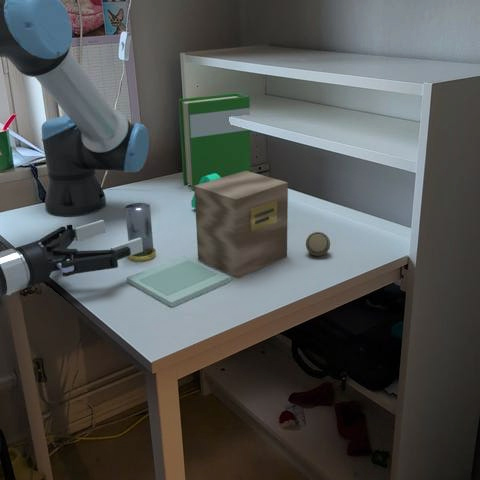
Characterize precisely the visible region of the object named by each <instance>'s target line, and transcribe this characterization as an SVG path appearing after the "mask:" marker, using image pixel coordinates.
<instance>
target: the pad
mask: <svg viewBox="0 0 480 480" xmlns="http://www.w3.org/2000/svg"><path fill="white" fill-rule="evenodd" d="M230 282H231V276H230V275H227V274H225V273H223V272H222V271H221V272H220V271H218V269H217V270H216V269H215V268H212V267H210V266H209V265H207V264H205V263H201V262H199V261H197V260H195V259H193V258H190V257H188V256H186V255H181V256H179V257H177V258H174V259H172V260H169V261H165V262H164V263H161V264H158V265H156V266H153V267H151V268H148V269H146V270H142V271H140V272H137V273H135V274H132V275H129V276H127V277H126V283H127V284H130V285H132V286H133V287H135V288H137V289H138V290H140V291H142V292H144V293H146V294H147V295H149V296H151V297H153V298H155V299H156V300H158V301H159V302H162V304H165V305H167V306H168V307H170V308H173V307H176V306H178V305H180V304H182V303H185V302H188V301H189V300H191V299H194V298H196V297H198V296H201V295H203V294H205V293H208V292H210V291H212V290H214V289H217V288H219V287H221V286H223V285H225V284H228V283H230Z"/></svg>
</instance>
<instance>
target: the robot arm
mask: <svg viewBox="0 0 480 480" xmlns="http://www.w3.org/2000/svg"><path fill="white" fill-rule="evenodd" d="M70 19H71V17H70V15H69V12H68V10H67V8H66V5H64V4H63V2H62V1H61V0H0V58H5V59H7V60H9V61H10V62H11V64H12V65H14V67H15V68H16V69H17V70H18V71H19V72H20V74H22V75H24V76H27V77H29V78H35V79H36V80H37V81H38V82H39V84H40V85H41V87H43V89H45V91H46V92H47V93H48V95H50V97H51V98H52V99H53V100H54V101H55V103H56V104H57V105H58V106H59V107H60V109H62V111H63V112H64V113H65V114H66V115H63V116H62V115H61V116H57V117H53V118H50V119H48V120H45V121H44V122H43V123H42V124H41V141H42V144H43V151H44V157H45V163H46V170H47V178H48V183H47V188H46V194H45V199H44V200H45V201H44V204H45V206H44V207H45V211H46V212H47V213H48V214H51V215H54V216H60V217H73V216H75V217H76V216H82V215H89V214H92V213H95V212H98V211H100V210H102V209H103V208H105V206H106V205H107V200H106V198H107V197H106V194H105V192H104V189H103V187H102V186H101V183H100V181H99V179H98V177H97V174H96V171H109V172H121V173H122V172H123V173H126V174H127V173H137V172H139V171H140V170H141V169H143V168H144V166H145V164H146V161H147V157H148V154H149V153H148V152H149V149H150V148H149V141H150V139H149V133H148V129H147V128H146V126H145V125H144V124H142V123H139V122H135V123H133V122H130V121H129V119H128V118H127V116H126V115H125V114H124V113H123V112H122V111H120V110H118V109H115V108H112V107H111V105H110V104H109V102H108V101H107V100H106V99H105V97H104V95H103V94H102V93H101V92H100V90H99V89H98V88H97V86H96V85H95V83H94V82H93V81H92V79H91V78H90V77H89V75H88V74H87V72H86V71H85V70H84V68H83V67H82V65H81V64H80V63H79V61H78V60H77V58H76V57H75V55H74V54H73V53H72V50H71V48H72V40H73V25H72V23H70ZM103 234H106V224H105V220H103V219H99V220H97V221H94V222H90V223H86V224H84V225H80V226H77V227H74V228H73V224H67V225H66V226H60V227H58V228H57V229H54V230H52V231H51V232H50V233H48V234H47V235H45V236H43V237H41V238H39V239H38V240H35V241H32V242H30V243H29V242H28V243H26V244H22V245H20V246H16V247H15V249H14V248H9V249H5V250H2V251H0V298H2V297H4V296H6V295H7V296H12V295H13V293H16V292H18V291H21V290H24V289H26V288H27V287H30V288H31V287H33V286H37V285H40V284H42V283H45V282H47V281H48V280H49V278H50V276H51V274H52V272H56V271H61V274H62V276H63V277H64V278H65V277H66V278H67V277H69V276H73V275H75V274H83V273H89V272H91V273H92V272H98V271H103V270H112V269H118V267H119V263H118V262H119V261H120V260H122V259H126V258H128V256H131V255H134V254H137V253H140V252H143V246H142V238H140V237H139V238H136V239H133V240H131V241H128V240H127V241H125V242H123V243H122V242H121V243H120V244H116V245H112V246H110V249H100V250H99V249H95V250H94V249H93V250H78V249H77V248H68V247H69V246H71V244H72V243H73V242H74V241H76V242H81V241H84V240H87V239H90V238H93V237H97V236H99V235H103Z"/></svg>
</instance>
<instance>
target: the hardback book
mask: <svg viewBox="0 0 480 480" xmlns="http://www.w3.org/2000/svg"><path fill="white" fill-rule="evenodd" d="M250 98H251V97H250V96H249V95H245V94H241V93H239V92H232V93H225V94H223V93H222V94H215V95H214V94H213V95H205V96H197V97H196V96H195V97H194V96H193V97H186V98H179V99H178V113H179V128H180V129H179V132H180V146H181V148H180V149H181V150H180V151H181V161H182V162H181V163H182V164H181V165H182V180H183V185H184V186H191V187H192V192H193V191H194V186H195V185H199V182H200V180H201V178H202V177H204V176H207V175H210V174H214V173H216V174H218V175H219V176H220V177H221V178H222V177H226V176H229V175H233V174H236V173H239V172H243V171H249V172H251V169H252V168H251V167H252V165H251V129H250V130H247V129H244V128H241V127H237V126H234V125H231V124H230V122H229V117H231V116H242V115H250V116H251V112H250V111H251V110H250V106H251V105H250V102H251V99H250ZM188 184H189V185H188Z"/></svg>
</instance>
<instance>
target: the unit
mask: <svg viewBox="0 0 480 480" xmlns="http://www.w3.org/2000/svg"><path fill="white" fill-rule="evenodd" d="M288 189H289V182H287V181H283V180H281V179H277V178H273V177H269V176H266V175H262V174H259V173H256V172H249V171H243V172H239V173H236V174H233V175H229V176H226V177H222V178H219V179H216V180H212V181H209V182H205V183H202V184H199V185H195V186H194V192H193V193H194V194H195V208H194V209H195V225H196V245H197V247H196V248H197V260H198V261H200V262H202V263H203V264H205V265H207V266H210V265H211V267H213V268H214V269H217V270H220V271H221V272H224V273H226V274H228V275H229V276H232V277H235V278H237V279H240V278H241V277H243V276H246V275H248V274H251V273H253V272H255V271H257V270H259V269H262V268H264V267H266V266H268V265H270V264H273V263H275V262H277V261H280V260H282V259H284V258H286V257H288V217H289V216H288V213H289V212H288V209H289V207H288V203H289V202H288V200H289V198H288V197H289V195H288V194H289V190H288Z"/></svg>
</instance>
